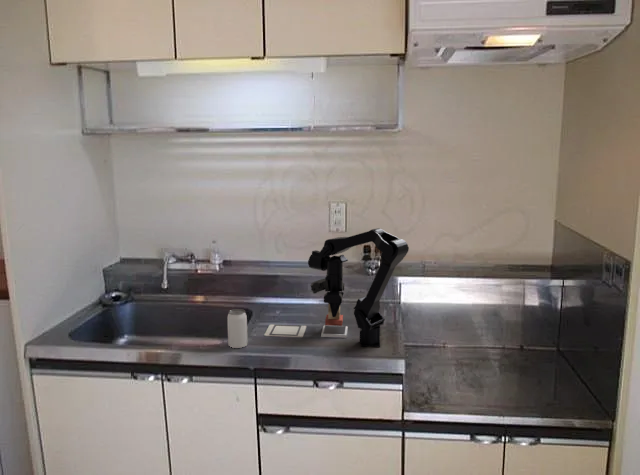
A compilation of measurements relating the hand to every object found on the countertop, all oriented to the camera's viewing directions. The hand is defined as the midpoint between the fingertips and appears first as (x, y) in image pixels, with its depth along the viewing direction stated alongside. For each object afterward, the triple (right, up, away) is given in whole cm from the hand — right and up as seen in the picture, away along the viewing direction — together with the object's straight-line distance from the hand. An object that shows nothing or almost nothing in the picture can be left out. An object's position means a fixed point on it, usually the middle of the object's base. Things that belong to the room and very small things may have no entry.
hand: (334, 314), depth 186 cm
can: (-33, -9, -10) cm, 36 cm away
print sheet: (-18, -6, +3) cm, 19 cm away
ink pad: (0, -7, +1) cm, 7 cm away
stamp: (0, -3, +1) cm, 3 cm away
